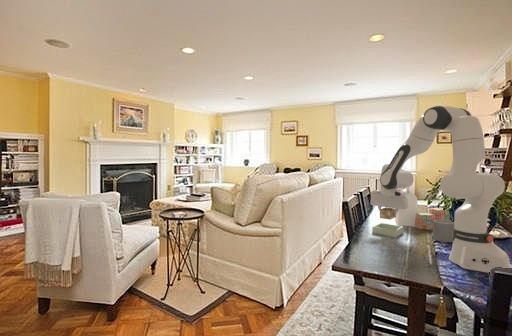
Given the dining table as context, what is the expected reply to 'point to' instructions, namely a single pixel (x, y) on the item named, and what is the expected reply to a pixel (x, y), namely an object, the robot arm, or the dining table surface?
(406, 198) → the robot arm
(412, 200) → the milk
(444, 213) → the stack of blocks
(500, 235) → the dining table surface
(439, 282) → the dining table surface
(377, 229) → the sage crate
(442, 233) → the coffee mug
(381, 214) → the pine crate
